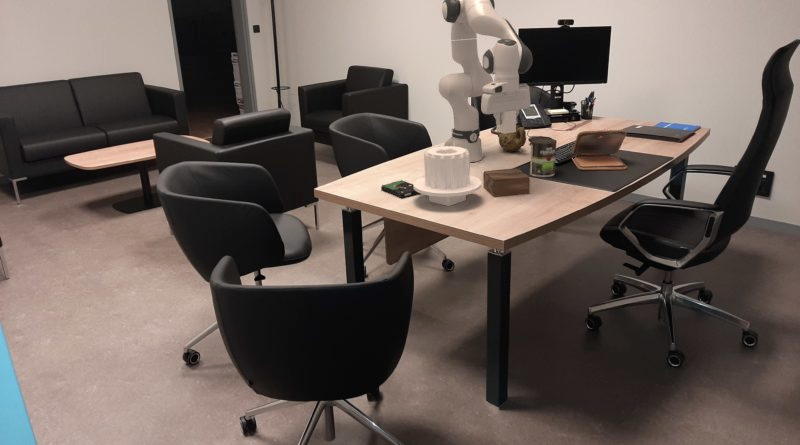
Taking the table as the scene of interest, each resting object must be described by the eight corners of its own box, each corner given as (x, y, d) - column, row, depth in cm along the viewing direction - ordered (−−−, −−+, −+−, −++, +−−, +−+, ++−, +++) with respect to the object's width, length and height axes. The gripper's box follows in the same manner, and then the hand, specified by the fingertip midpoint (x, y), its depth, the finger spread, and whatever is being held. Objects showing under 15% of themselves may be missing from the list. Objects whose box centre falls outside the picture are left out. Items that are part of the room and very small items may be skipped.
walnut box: (483, 188, 247) (483, 171, 245) (517, 185, 249) (517, 167, 246) (493, 198, 235) (493, 180, 232) (529, 194, 237) (529, 176, 234)
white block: (496, 131, 236) (496, 110, 233) (507, 129, 238) (507, 108, 236) (504, 133, 232) (504, 111, 229) (515, 131, 234) (516, 110, 231)
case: (617, 158, 280) (619, 122, 275) (628, 170, 261) (631, 132, 255) (570, 159, 283) (572, 123, 277) (578, 171, 263) (580, 134, 258)
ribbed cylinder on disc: (400, 202, 234) (397, 152, 227) (444, 186, 250) (443, 139, 244) (450, 216, 217) (449, 163, 210) (495, 198, 233) (495, 148, 227)
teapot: (489, 148, 305) (489, 117, 300) (509, 145, 310) (509, 115, 305) (514, 157, 287) (515, 125, 282) (535, 154, 292) (536, 122, 286)
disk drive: (423, 195, 243) (402, 186, 255) (423, 188, 242) (401, 179, 254) (402, 200, 238) (380, 191, 249) (401, 193, 237) (380, 184, 248)
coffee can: (559, 175, 258) (561, 141, 253) (536, 178, 255) (538, 144, 250) (547, 169, 267) (548, 136, 262) (525, 172, 265) (526, 139, 260)
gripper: (523, 82, 237) (523, 118, 241) (478, 87, 228) (478, 125, 233) (534, 83, 231) (533, 121, 236) (488, 89, 223) (488, 128, 227)
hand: (506, 123), depth 234 cm, fingers closed on white block, 5 cm apart
